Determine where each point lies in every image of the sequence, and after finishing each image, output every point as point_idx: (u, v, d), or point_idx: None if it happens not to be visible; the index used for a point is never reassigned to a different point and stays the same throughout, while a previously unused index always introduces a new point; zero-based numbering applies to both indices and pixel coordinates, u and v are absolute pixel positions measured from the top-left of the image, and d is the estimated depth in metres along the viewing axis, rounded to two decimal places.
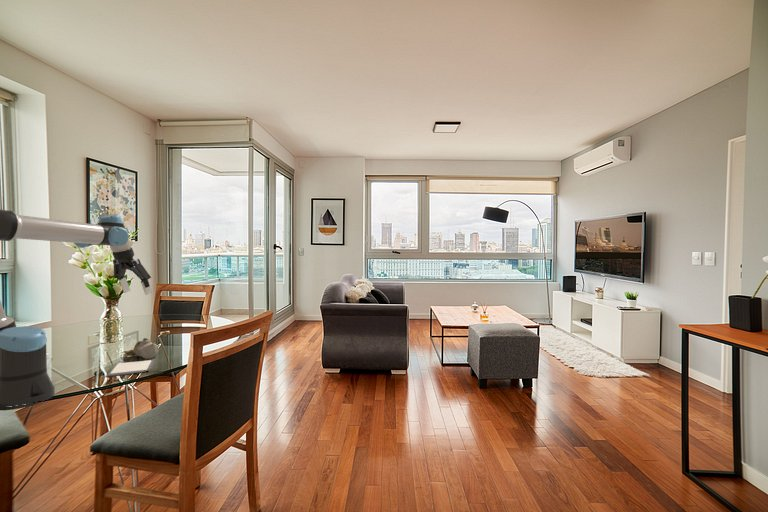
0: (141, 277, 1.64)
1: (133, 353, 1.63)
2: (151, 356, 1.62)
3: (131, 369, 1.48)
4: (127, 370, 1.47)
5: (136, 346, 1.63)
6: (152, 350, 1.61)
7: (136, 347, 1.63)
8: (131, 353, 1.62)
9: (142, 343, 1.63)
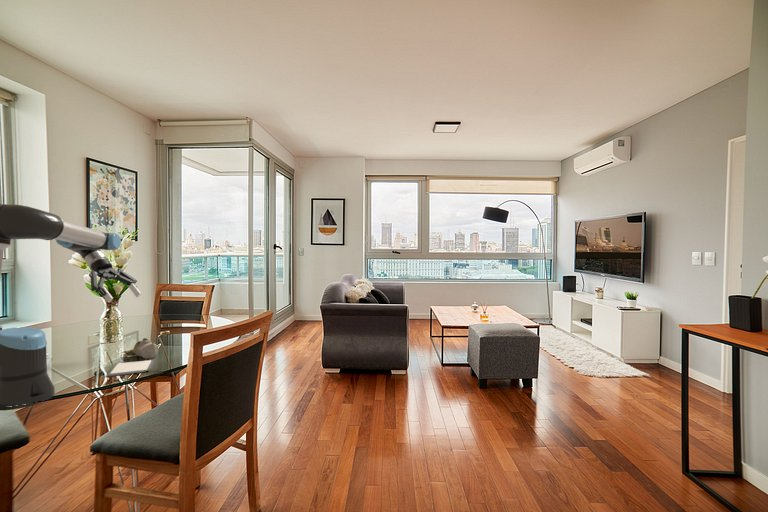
0: None
1: (133, 353, 1.63)
2: (151, 356, 1.62)
3: (131, 369, 1.48)
4: (127, 370, 1.47)
5: (136, 346, 1.63)
6: (151, 350, 1.61)
7: (135, 347, 1.63)
8: (131, 353, 1.63)
9: (142, 343, 1.63)
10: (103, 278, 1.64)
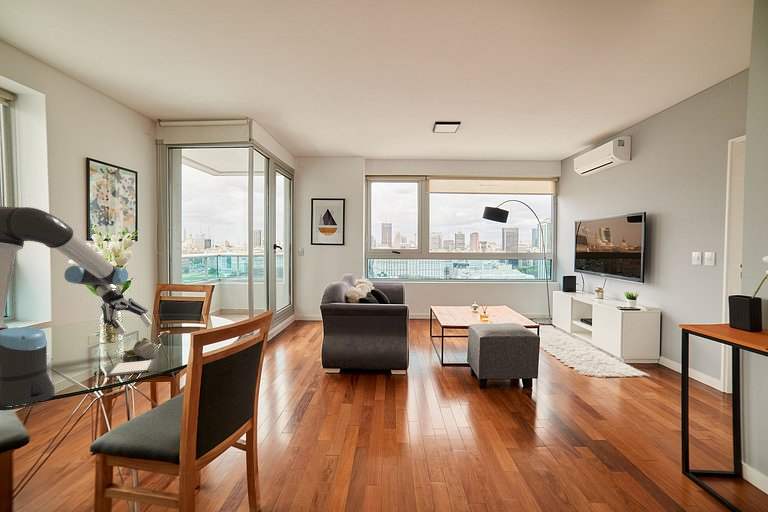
0: (141, 310, 1.75)
1: (133, 353, 1.63)
2: (150, 356, 1.62)
3: (131, 369, 1.48)
4: (127, 370, 1.47)
5: (136, 346, 1.63)
6: (151, 349, 1.62)
7: (135, 347, 1.63)
8: (131, 353, 1.63)
9: (142, 343, 1.63)
10: (115, 310, 1.64)
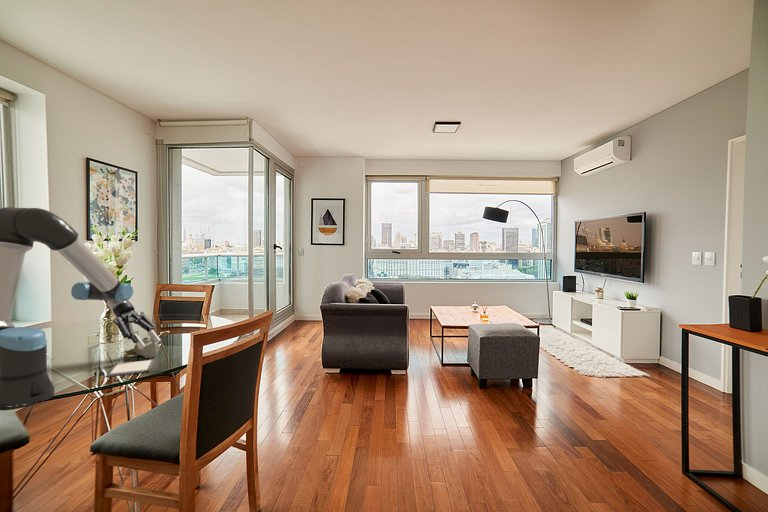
0: (150, 326, 1.70)
1: (134, 352, 1.63)
2: (152, 355, 1.63)
3: (131, 369, 1.48)
4: (127, 370, 1.47)
5: None
6: (152, 349, 1.62)
7: (136, 347, 1.63)
8: (132, 352, 1.63)
9: (143, 342, 1.64)
10: (130, 323, 1.63)
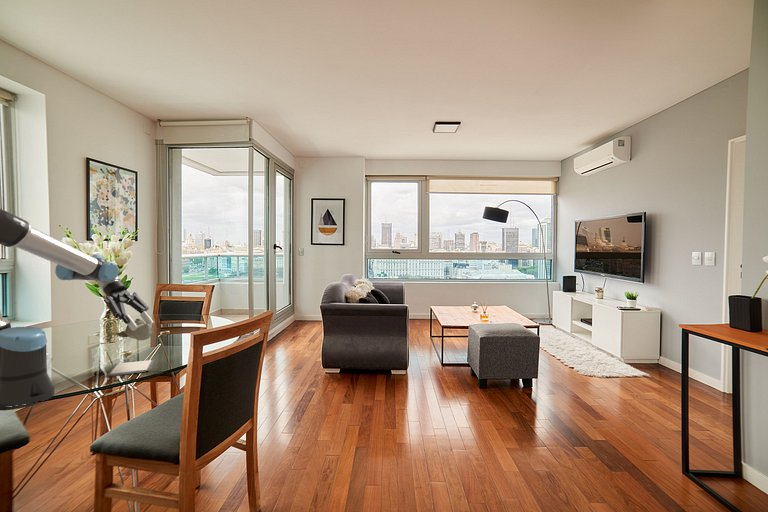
0: (143, 307, 1.60)
1: (125, 334, 1.53)
2: (144, 337, 1.53)
3: (131, 369, 1.48)
4: (127, 370, 1.47)
5: (128, 327, 1.54)
6: (145, 330, 1.52)
7: (127, 328, 1.53)
8: (122, 334, 1.53)
9: None
10: (121, 303, 1.53)
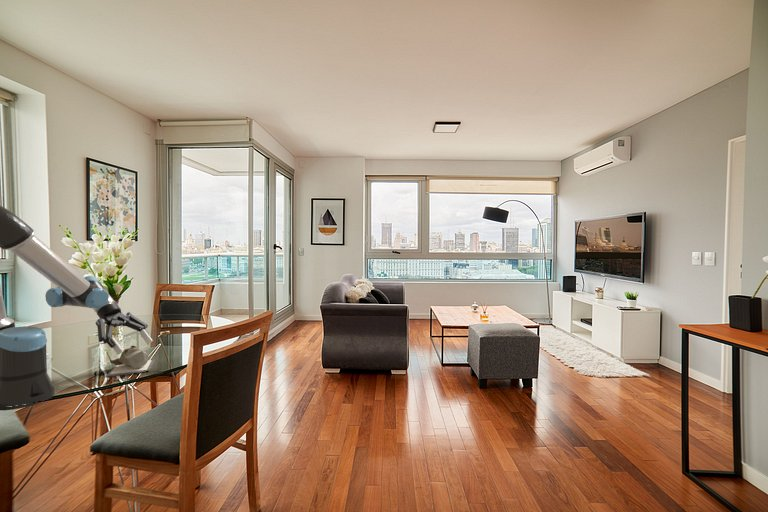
0: (141, 325, 1.58)
1: (120, 362, 1.49)
2: (140, 365, 1.49)
3: (131, 369, 1.48)
4: (127, 370, 1.47)
5: (123, 354, 1.49)
6: (141, 358, 1.48)
7: (122, 356, 1.49)
8: (117, 362, 1.48)
9: (130, 351, 1.49)
10: (111, 326, 1.47)
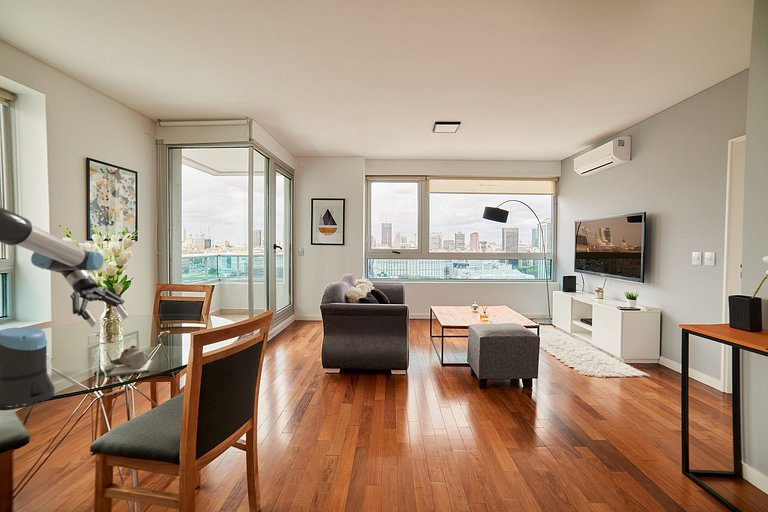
0: (117, 301, 1.61)
1: (119, 362, 1.49)
2: (140, 365, 1.49)
3: (131, 369, 1.48)
4: (127, 370, 1.47)
5: (123, 354, 1.49)
6: (141, 358, 1.48)
7: (122, 356, 1.49)
8: (117, 362, 1.48)
9: (130, 351, 1.49)
10: (86, 300, 1.50)
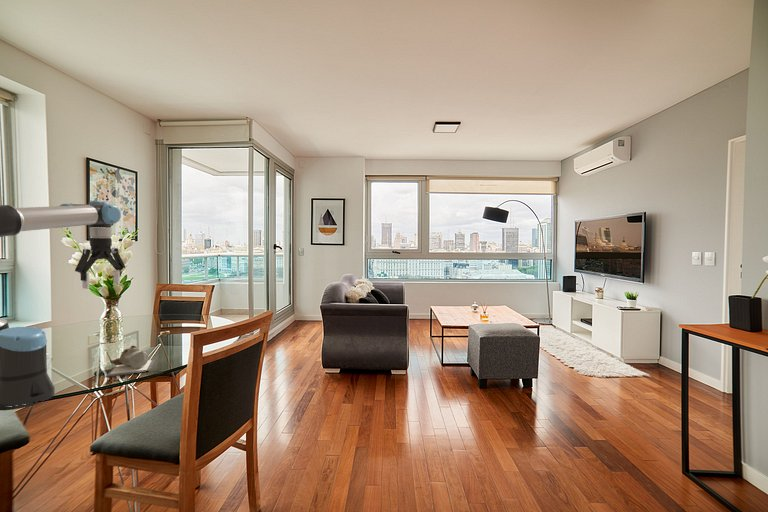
0: (119, 265, 1.67)
1: (119, 362, 1.48)
2: (140, 365, 1.49)
3: (131, 369, 1.48)
4: (127, 370, 1.47)
5: (123, 354, 1.49)
6: (141, 358, 1.48)
7: (122, 356, 1.49)
8: (117, 362, 1.48)
9: (130, 351, 1.49)
10: (93, 261, 1.56)
